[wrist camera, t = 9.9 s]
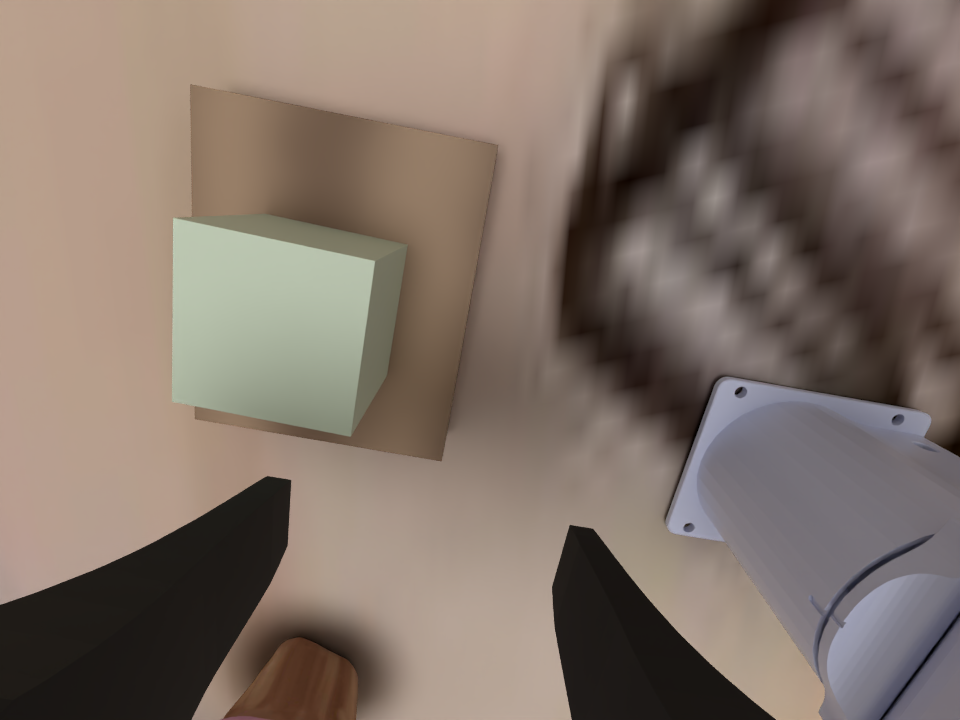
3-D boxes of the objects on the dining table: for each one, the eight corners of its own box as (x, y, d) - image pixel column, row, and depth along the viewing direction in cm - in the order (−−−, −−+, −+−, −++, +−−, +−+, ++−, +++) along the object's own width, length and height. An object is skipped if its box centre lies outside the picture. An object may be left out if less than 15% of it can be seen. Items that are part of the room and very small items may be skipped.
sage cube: (407, 244, 17) (375, 260, 12) (386, 375, 18) (350, 436, 13) (264, 213, 16) (173, 217, 12) (256, 349, 18) (172, 401, 13)
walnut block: (497, 153, 18) (498, 145, 16) (447, 427, 22) (441, 461, 19) (237, 102, 18) (190, 84, 15) (233, 390, 22) (195, 418, 19)
